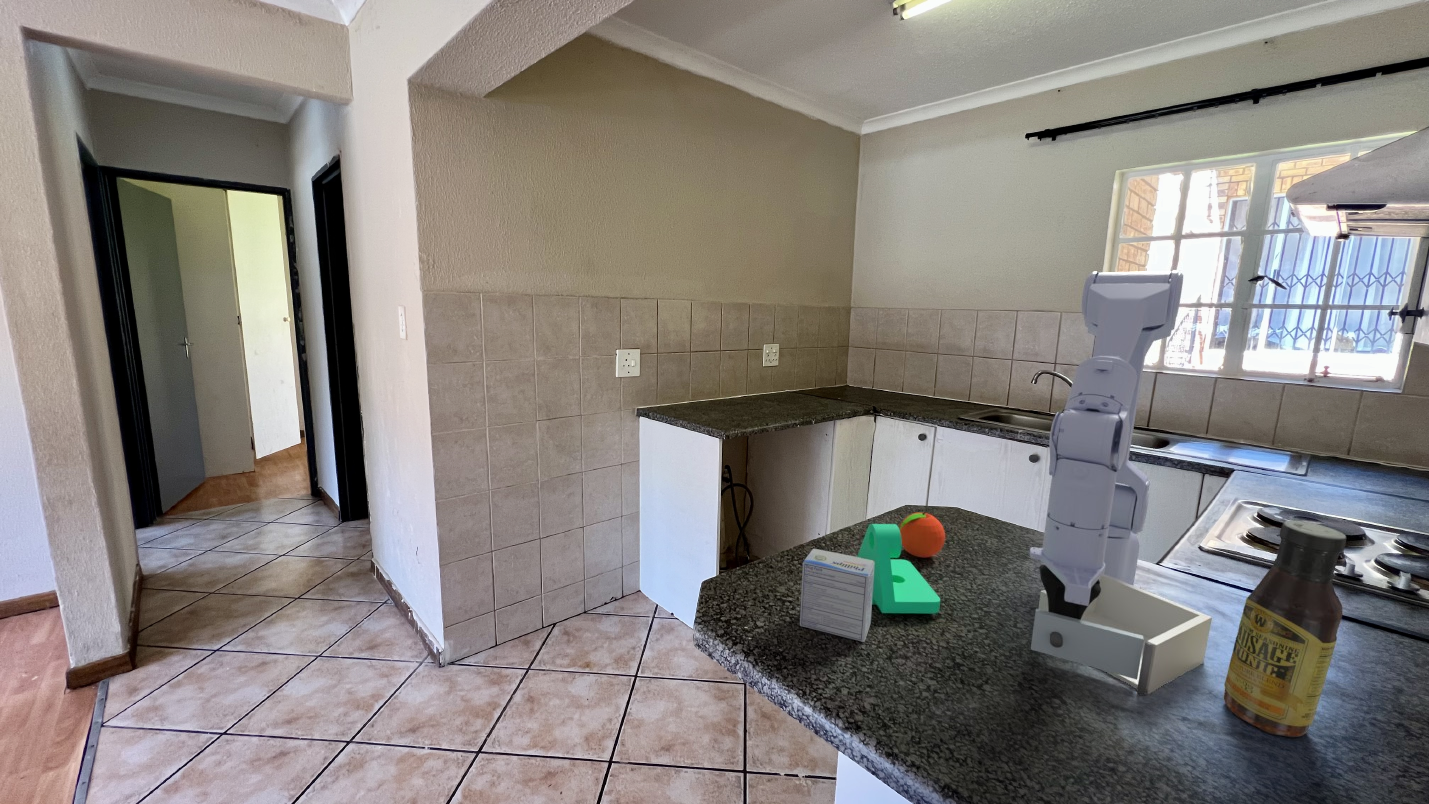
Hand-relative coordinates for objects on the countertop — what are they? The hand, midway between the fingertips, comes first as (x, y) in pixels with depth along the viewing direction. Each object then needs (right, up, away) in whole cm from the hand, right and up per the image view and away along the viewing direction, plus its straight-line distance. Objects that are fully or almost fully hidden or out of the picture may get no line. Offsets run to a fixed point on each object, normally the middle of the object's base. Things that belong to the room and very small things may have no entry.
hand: (1061, 633), depth 63 cm
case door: (+1, -2, -3) cm, 4 cm away
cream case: (+8, -3, +3) cm, 9 cm away
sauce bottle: (+15, -5, -9) cm, 18 cm away
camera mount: (-14, -1, +13) cm, 20 cm away
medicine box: (-24, -2, +6) cm, 25 cm away
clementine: (-7, +1, +26) cm, 27 cm away
